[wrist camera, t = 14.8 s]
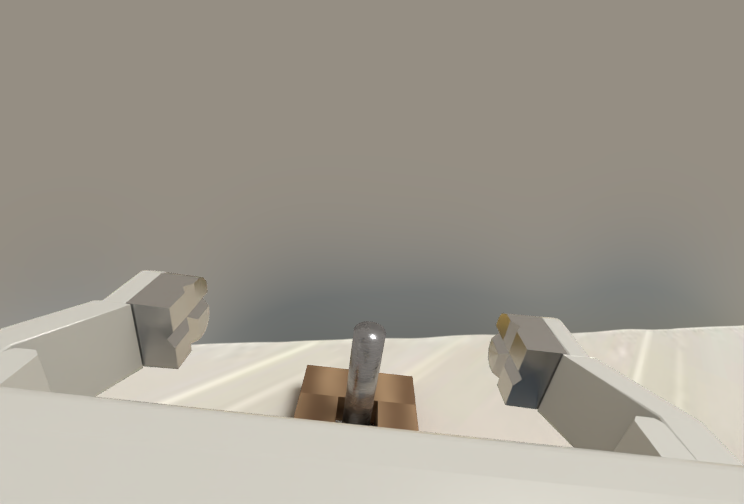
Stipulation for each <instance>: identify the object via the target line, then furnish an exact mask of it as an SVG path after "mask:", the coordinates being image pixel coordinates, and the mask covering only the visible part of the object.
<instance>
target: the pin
mask: <svg viewBox="0 0 744 504" xmlns="http://www.w3.org/2000/svg"><path fill="white" fill-rule="evenodd" d="M385 336H386V331H385V329H384V328H383V327H382V326H381V325H379V324H377V323H375V322H369V321H366V322H361V323H359V324H357V325H356V326H355V328H354V334H353V342H352V349H351V357H350V365H349V372H348V380H347V388H346V395H345V403H344V411H343V418H342V423H346V424H356V425H366V426H369V425H370V420H371V414H372V409H373V403H374V398H375V392H376V386H377V381H378V375H379V370H380V364H381V358H382V353H383V347H384V342H385Z"/></svg>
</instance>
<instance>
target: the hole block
mask: <svg viewBox="0 0 744 504" xmlns="http://www.w3.org/2000/svg"><path fill="white" fill-rule="evenodd" d="M348 372H349V369H340V368H331V367H322V366H313V365H307V368H306V372H305V376H304V380H303V384H302V387H301V391H300V395H299V399H298V403H297V406H296V410H295V414H294V418H299V419H308V420H318V421H327V422H335V421H336V420H342V418H343V411H344V403H345V395H346V388H347V380H348ZM370 423H372V424H374V426H375V427H385V428H394V429H404V430H413V431H419V430H418V421H417V413H416V404H415V395H414V386H413V378H412V376H403V375H394V374H385V373H379V375H378V381H377V386H376V392H375V398H374V403H373V409H372V414H371V420H370Z"/></svg>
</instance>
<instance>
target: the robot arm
mask: <svg viewBox="0 0 744 504" xmlns="http://www.w3.org/2000/svg"><path fill="white" fill-rule="evenodd" d="M207 292H208V290H207V282H206V280H205V279H204V278H203V277H198V276H190V275H183V274H176V273H169V272H162V271H153V270H143V271H141V272H140V273H139V274H137V275H136V276H135V277H133V278H132V279H131V280H129V281H128V282H127V283H125V284H124V285H123V286H121V287H120V288H118V289H117V290H116V291H114V292H113V293H112V294H110V295H109V296H108V297H106V298H105V299H104V300H102V301H97V300H95V301H91V302H88V303H85V304H82V305H78V306H75V307H71V308H68V309H65V310H61V311H58V312H55V313H51V314H48V315H45V316H42V317H38V318H35V319H31V320H28V321H25V322H21V323H18V324H15V325H12V326H8V327H5V328H2V329H0V504H744V465H743V464H742V463H741V462H740V461H739V460H738V459H737V458H736V457H735V456H734V455H733V454H732V452H731V451H730V450H729V449H728V448H727V447H726V446H725V445H724V444H723V443H722V442H721V441H720V440H719V439H718V438H717V437H716V436H715V435H714V434H713V433H712V432H711V431H710V430H709V429H708V428H707V427H706V426H705V425H704V424H703V423H702V422H701V421H699V420H698V419H696V418H694V417H693V416H691V415H689V414H688V413H686V412H684V411H683V410H681V409H679V408H678V407H676V406H674V405H673V404H671V403H669V402H668V401H666V400H664V399H663V398H661V397H660V396H658V395H656V394H655V393H653V392H651V391H650V390H648V389H646V388H645V387H643V386H641V385H640V384H638V383H636V382H635V381H633V380H631V379H630V378H628V377H626V376H625V375H623V374H621V373H620V372H618V371H616V370H615V369H613V368H611V367H610V366H608V365H606V364H605V363H603V362H601V361H600V360H598V359H596V358H592V357H589V356H588V355H587V353H586V352H585V351H584V349H583V348H582V347H581V346H580V344H579V343H578V342H577V341H576V339H575V338H574V337H573V336H572V334H571V333H570V332H569V331H568V329H567V328H566V327H565V326H564V324H563V323H562V322H561V321H560V320H559V319H557V318H550V317H536V316H526V315H515V314H503V313H502V314H501V315H500V317H499V318H498V321H497V324H496V327H497V329H498V331H499V333H498V334H497V335H495V336H494V337H493V338H492V339H491V342H490V345H489V351H488V360H489V365H490V368H491V371H492V373H494V374H495V375H496V376H497V377H498V378H499V381H498V384H497V386H498V388H499V391H500V393H501V396H502V398H503V401H504V403H505V405H509V406H516V407H523V408H531V409H538V412H539V413H540V414H541V415H542V416H543V417H544V418H545V419H546V420H547V421H548V422H549V423H550V424H551V425H552V426H553V427H554V428H555V429H556V430H557V431H558V432H559V433H560V434H561V435H562V436H563V437H564V438H565V439H566V440H567V441H568V442H569V443H570V444H571V445H572V446H573V447H574V448H572V447H563V446H553V445H544V444H534V443H525V442H516V441H506V440H497V439H488V438H478V437H469V436H460V435H450V434H441V433H432V432H422V431H413V430H404V429H394V428H385V427H375V426H366V425H356V424H346V423H337V422H327V421H318V420H308V419H299V418H289V417H280V416H270V415H261V414H252V413H242V412H233V411H224V410H214V409H205V408H195V407H186V406H177V405H167V404H158V403H149V402H139V401H130V400H120V399H111V398H102V397H96V396H97V395H99V394H101V393H102V392H104V391H106V390H107V389H109V388H110V387H112V386H114V385H115V384H117V383H119V382H120V381H122V380H124V379H125V378H127V377H129V376H130V375H132V374H134V373H135V372H137V371H139V370H140V369H142V368H143V366H146V367H159V368H171V369H179V367H180V366H181V365H182V363H183V362H184V360H185V359H186V358H187V356H188V355H189V354H190V352H191V351H192V350H191V344H192V343H193V342H195V341H197V340H200V338H201V337H202V336H203V334H204V333H205V330H206V328H207V325H208V322H209V305H208V304H207V303H206V301H205V300H204V299H203V297H204V296H205V294H206V293H207Z"/></svg>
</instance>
